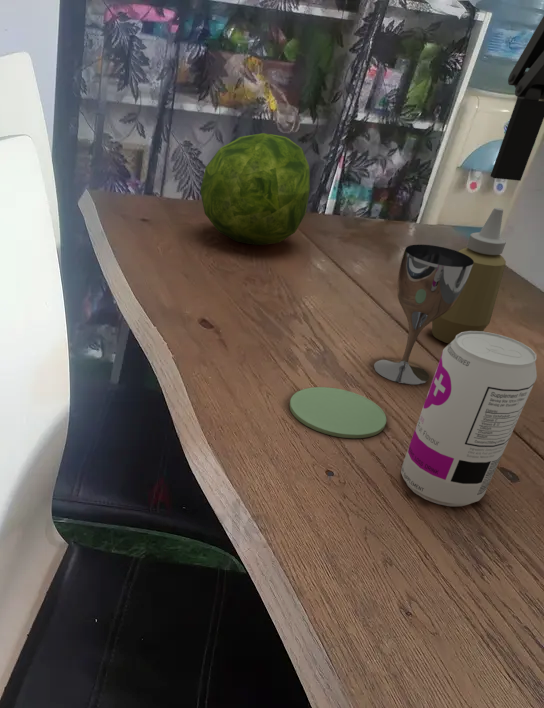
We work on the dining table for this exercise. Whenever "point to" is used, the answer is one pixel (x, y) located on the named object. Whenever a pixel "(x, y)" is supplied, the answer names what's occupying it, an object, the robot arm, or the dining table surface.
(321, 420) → the coaster
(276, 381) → the dining table surface
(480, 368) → the supplement can
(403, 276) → the wine glass
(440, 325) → the squeeze bottle
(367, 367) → the dining table surface
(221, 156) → the lettuce
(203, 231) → the dining table surface
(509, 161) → the robot arm
